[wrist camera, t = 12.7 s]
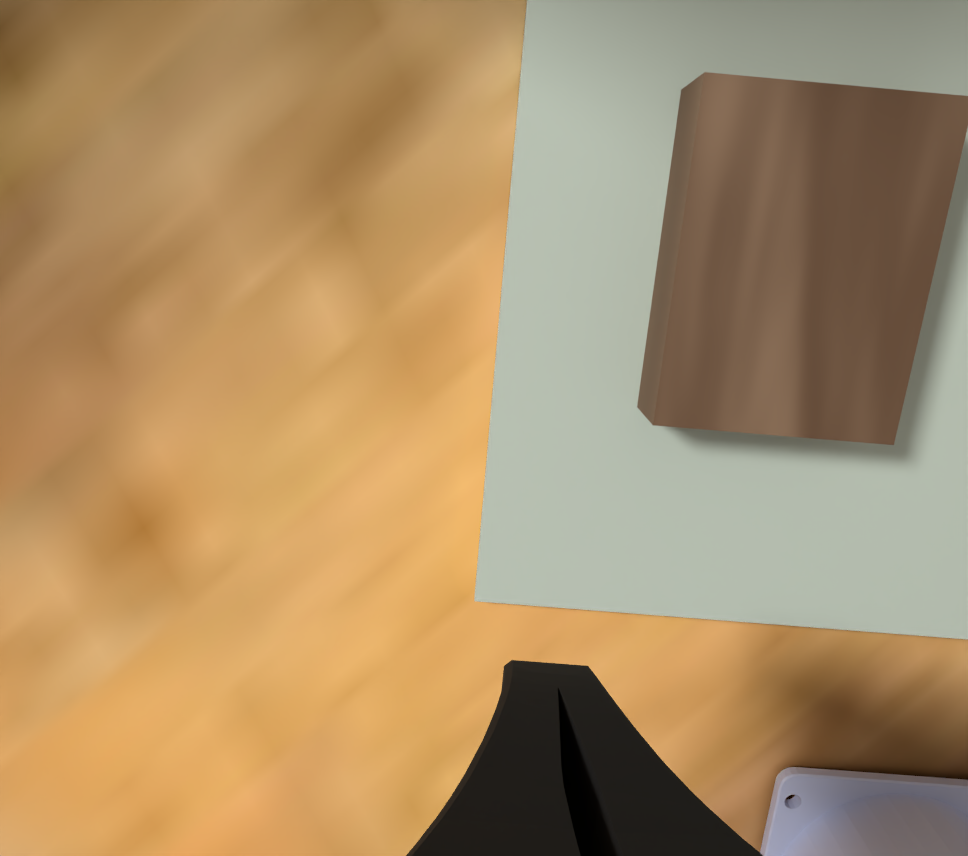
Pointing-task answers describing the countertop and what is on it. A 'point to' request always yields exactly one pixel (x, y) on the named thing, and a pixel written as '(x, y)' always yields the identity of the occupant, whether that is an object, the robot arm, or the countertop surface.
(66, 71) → the countertop surface
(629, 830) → the robot arm
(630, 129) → the mat
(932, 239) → the walnut slab
